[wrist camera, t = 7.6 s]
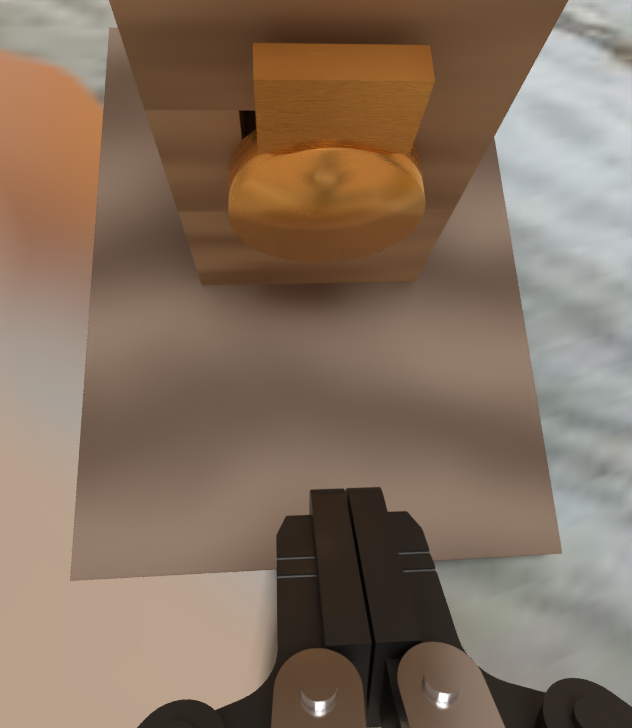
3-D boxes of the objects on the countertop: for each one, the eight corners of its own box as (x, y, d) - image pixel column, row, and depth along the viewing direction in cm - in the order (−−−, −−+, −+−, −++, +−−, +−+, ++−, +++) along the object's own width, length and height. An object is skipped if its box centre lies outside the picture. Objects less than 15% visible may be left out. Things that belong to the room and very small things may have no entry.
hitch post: (545, 552, 20) (1882, 672, 3) (83, 577, 19) (-1452, 963, 2) (468, 54, 26) (795, -773, 9) (117, 50, 25) (-208, -897, 8)
